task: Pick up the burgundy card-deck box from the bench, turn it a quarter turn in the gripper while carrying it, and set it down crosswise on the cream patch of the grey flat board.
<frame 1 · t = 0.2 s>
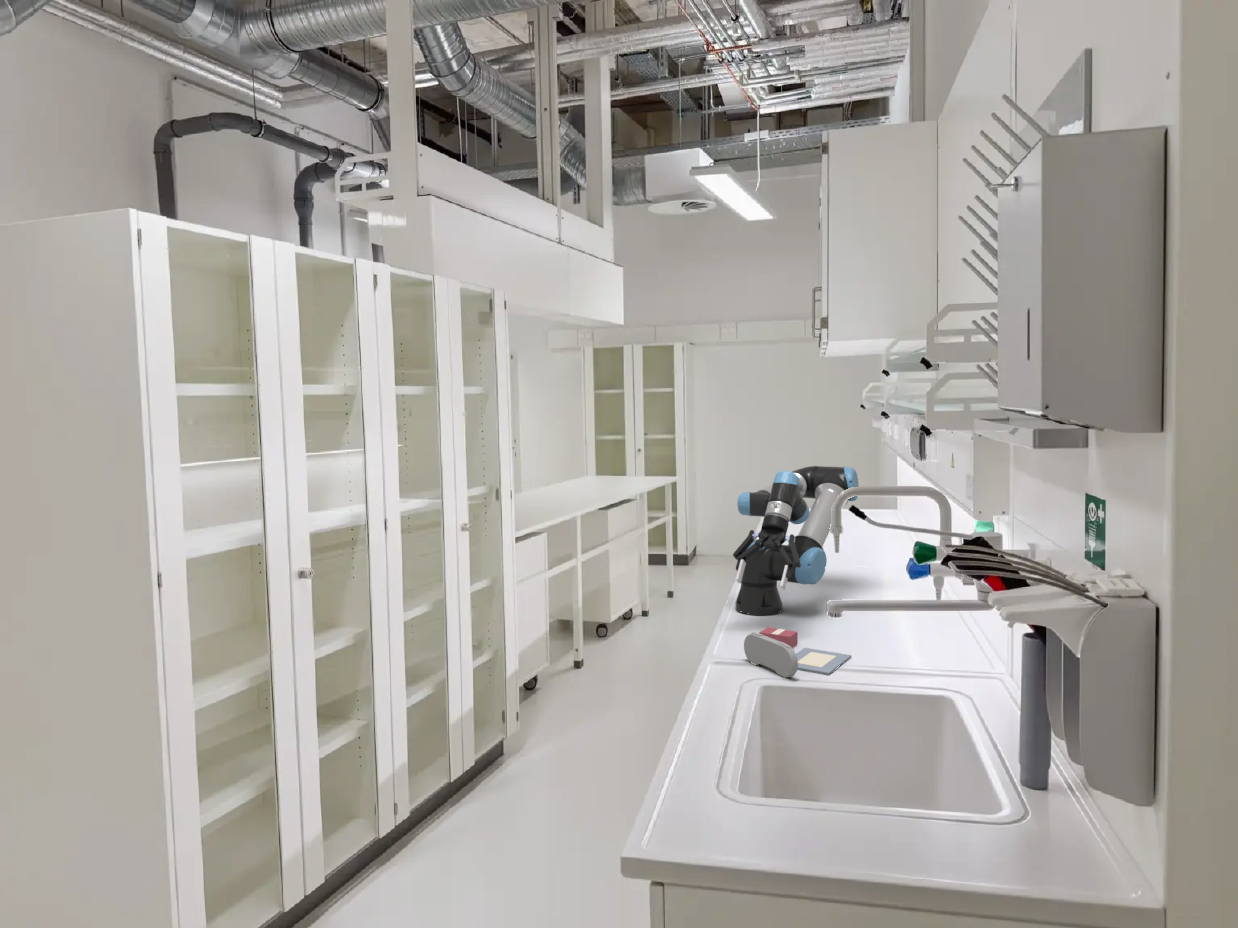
hand: (760, 584, 239), 16 cm above the counter, tool tilted 35°, fingers open, 13 cm apart
card deck box: (778, 646, 233), on the counter
game controller: (769, 670, 212), on the counter
grey flat board: (816, 662, 217), on the counter
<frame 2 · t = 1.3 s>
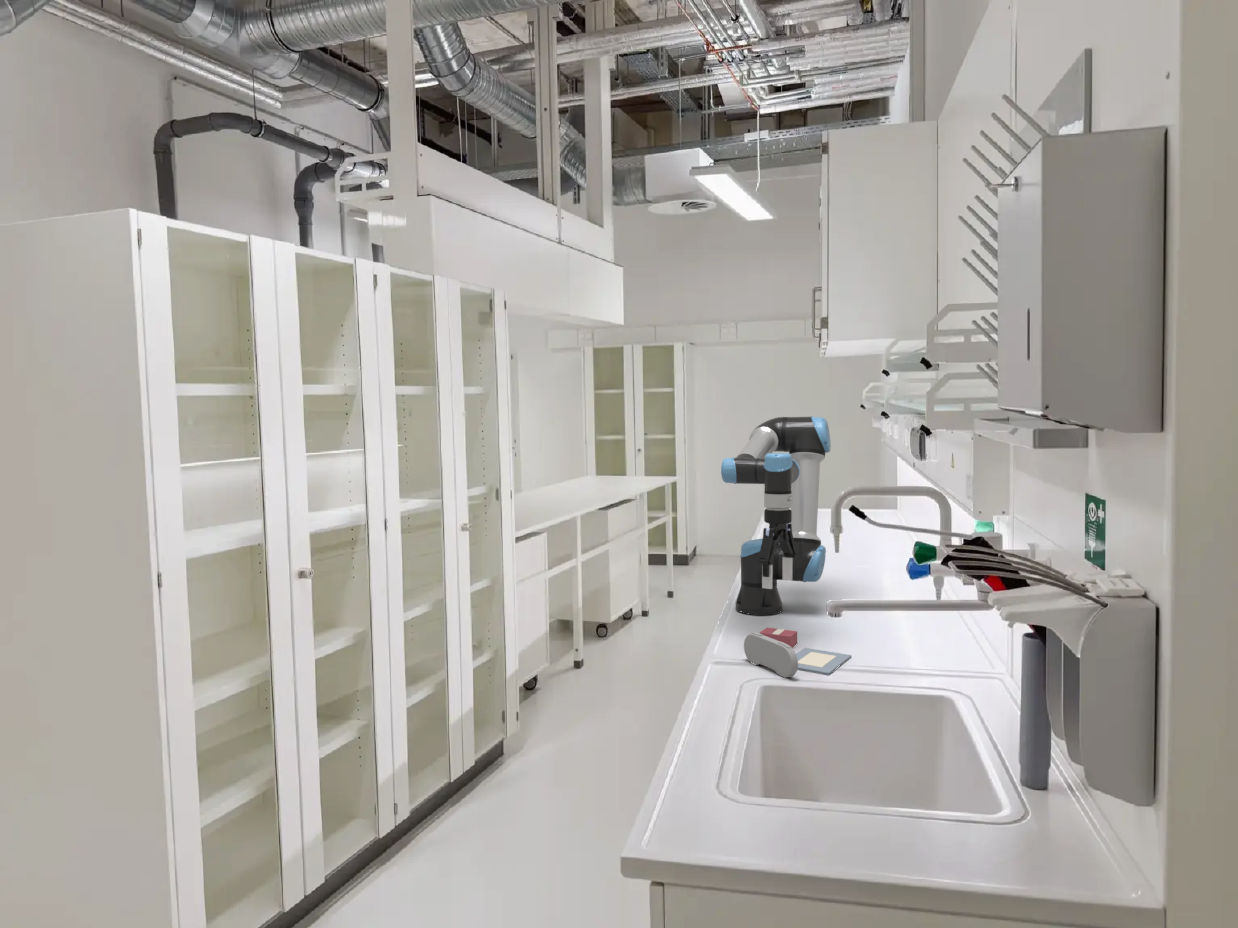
hand: (777, 584, 232), 17 cm above the counter, tool pointing down, fingers open, 13 cm apart
nothing on the counter moved.
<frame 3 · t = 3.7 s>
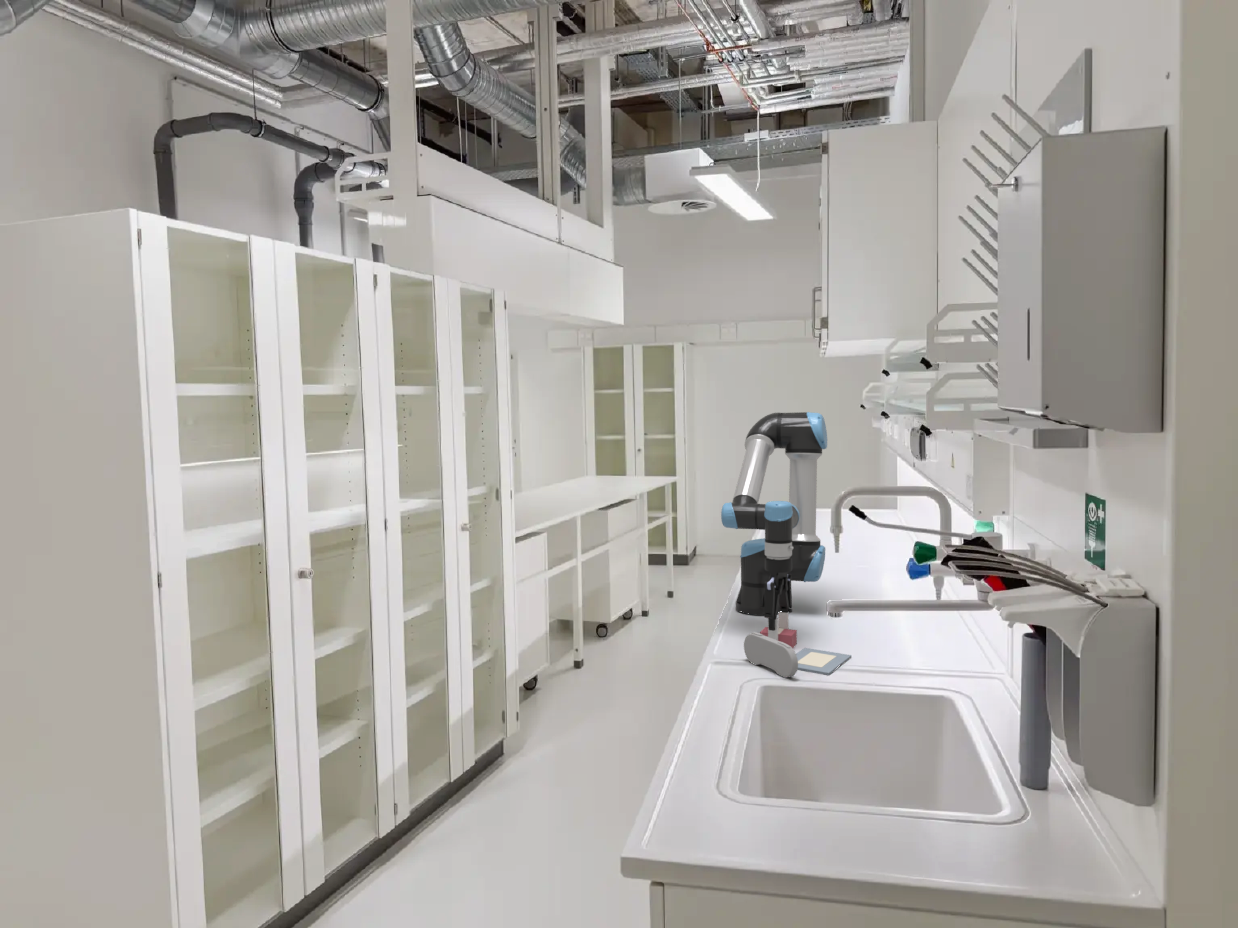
hand: (778, 637, 233), 2 cm above the counter, tool pointing down, fingers closed on card deck box, 7 cm apart
card deck box: (778, 645, 233), on the counter, touching gripper
everything else where it was.
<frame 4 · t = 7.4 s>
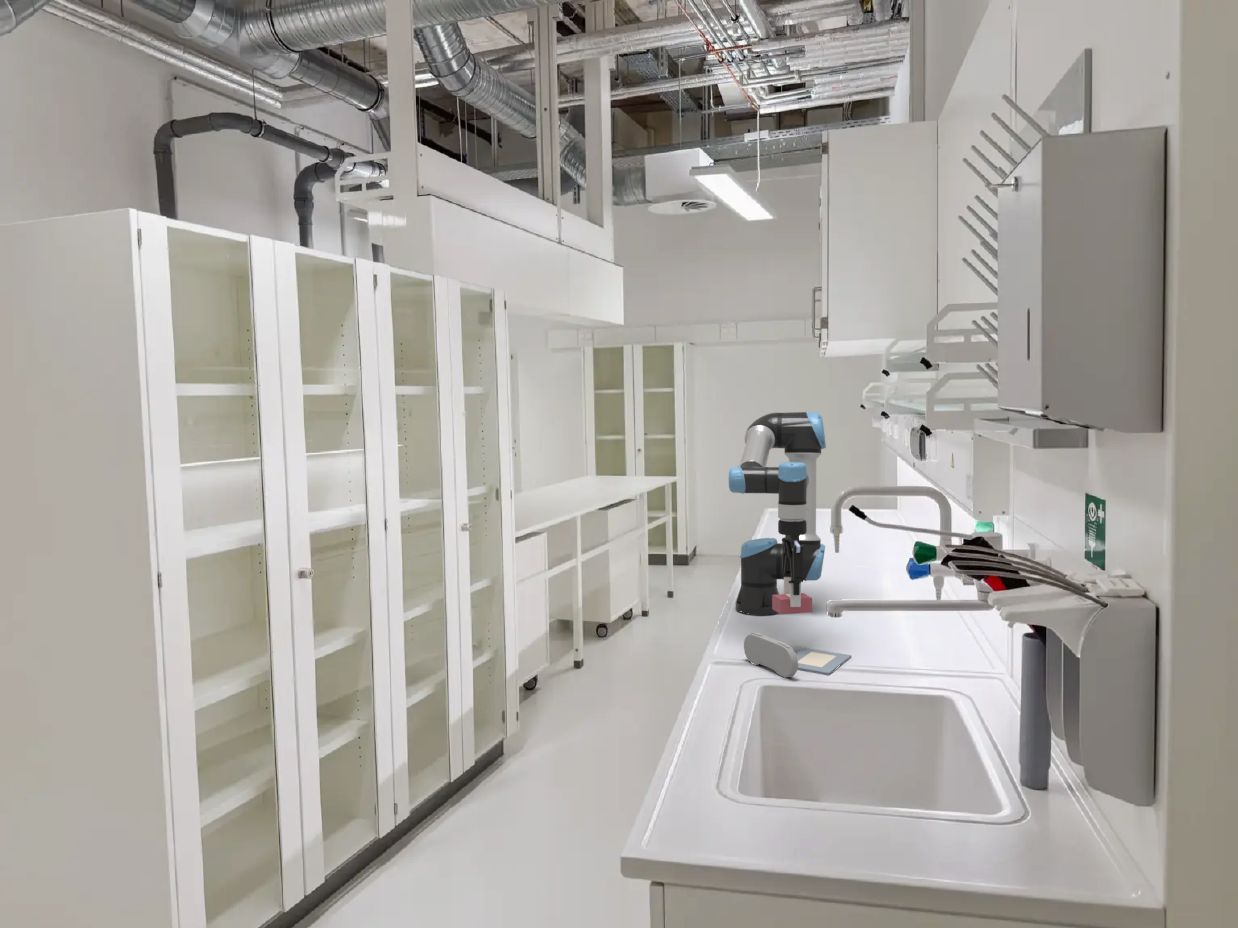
hand: (792, 603, 226), 13 cm above the counter, tool pointing down, fingers closed on card deck box, 6 cm apart
card deck box: (792, 610, 226), point 11 cm above the counter, touching gripper
everything else where it was.
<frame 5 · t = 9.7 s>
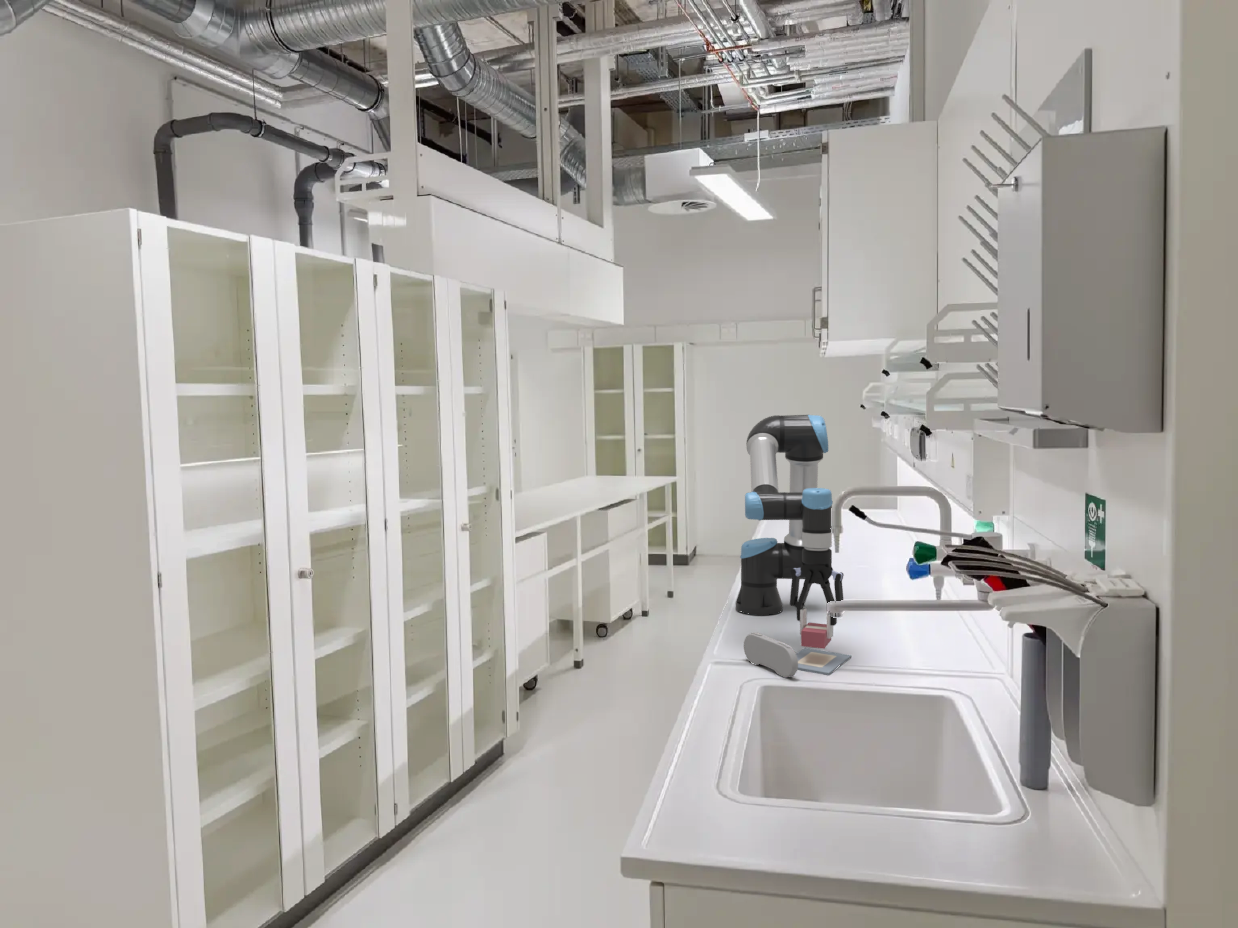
hand: (816, 635, 217), 7 cm above the counter, tool pointing down, fingers closed on card deck box, 6 cm apart
card deck box: (816, 642, 217), point 5 cm above the counter, touching gripper
everything else where it was.
when the fingers open (4 cm above the counter, at t = 11.3 s): card deck box drops 1 cm, resting on grey flat board.
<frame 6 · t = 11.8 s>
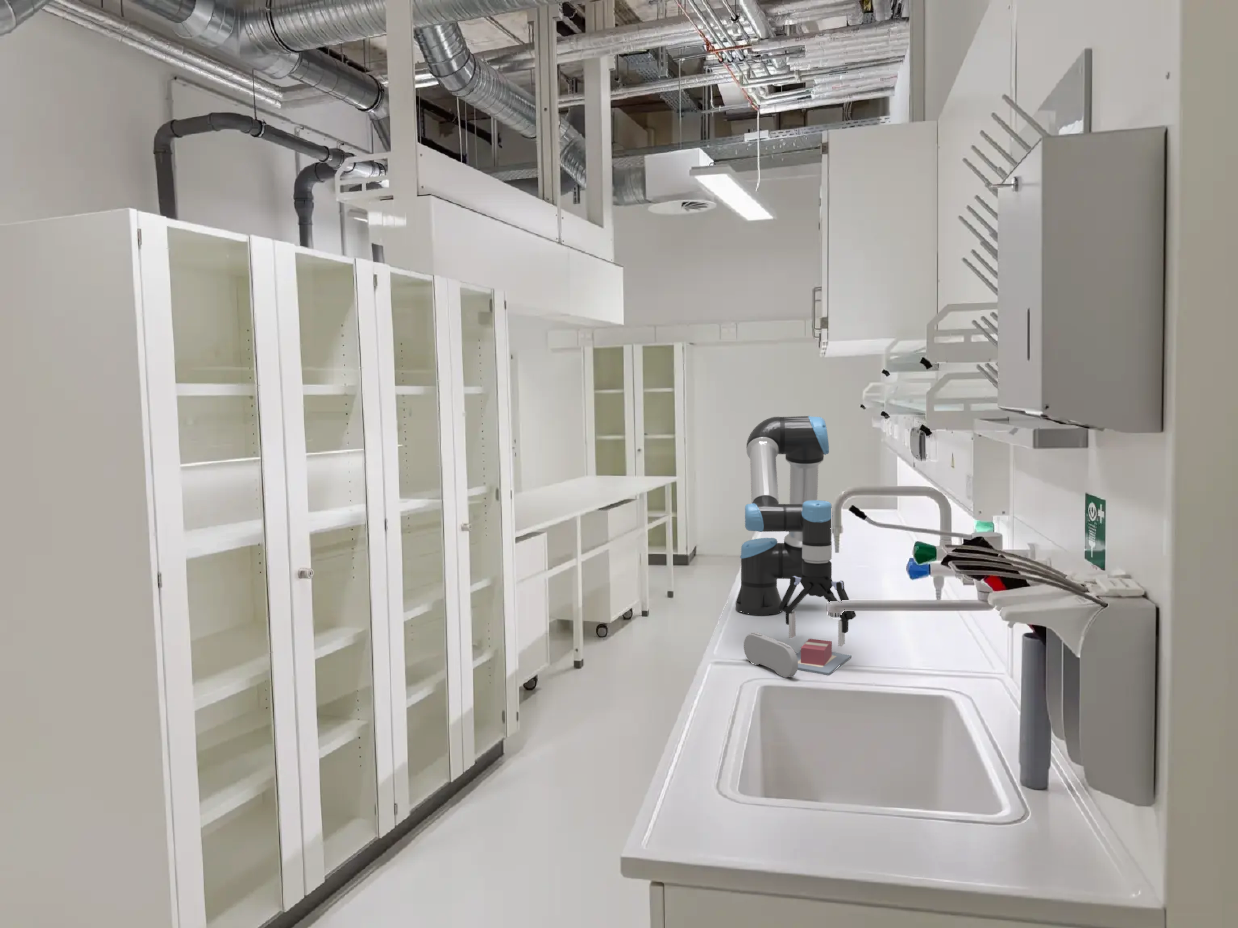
hand: (816, 640, 217), 6 cm above the counter, tool pointing down, fingers open, 13 cm apart
card deck box: (816, 659, 217), point 1 cm above the counter, touching grey flat board
everything else where it was.
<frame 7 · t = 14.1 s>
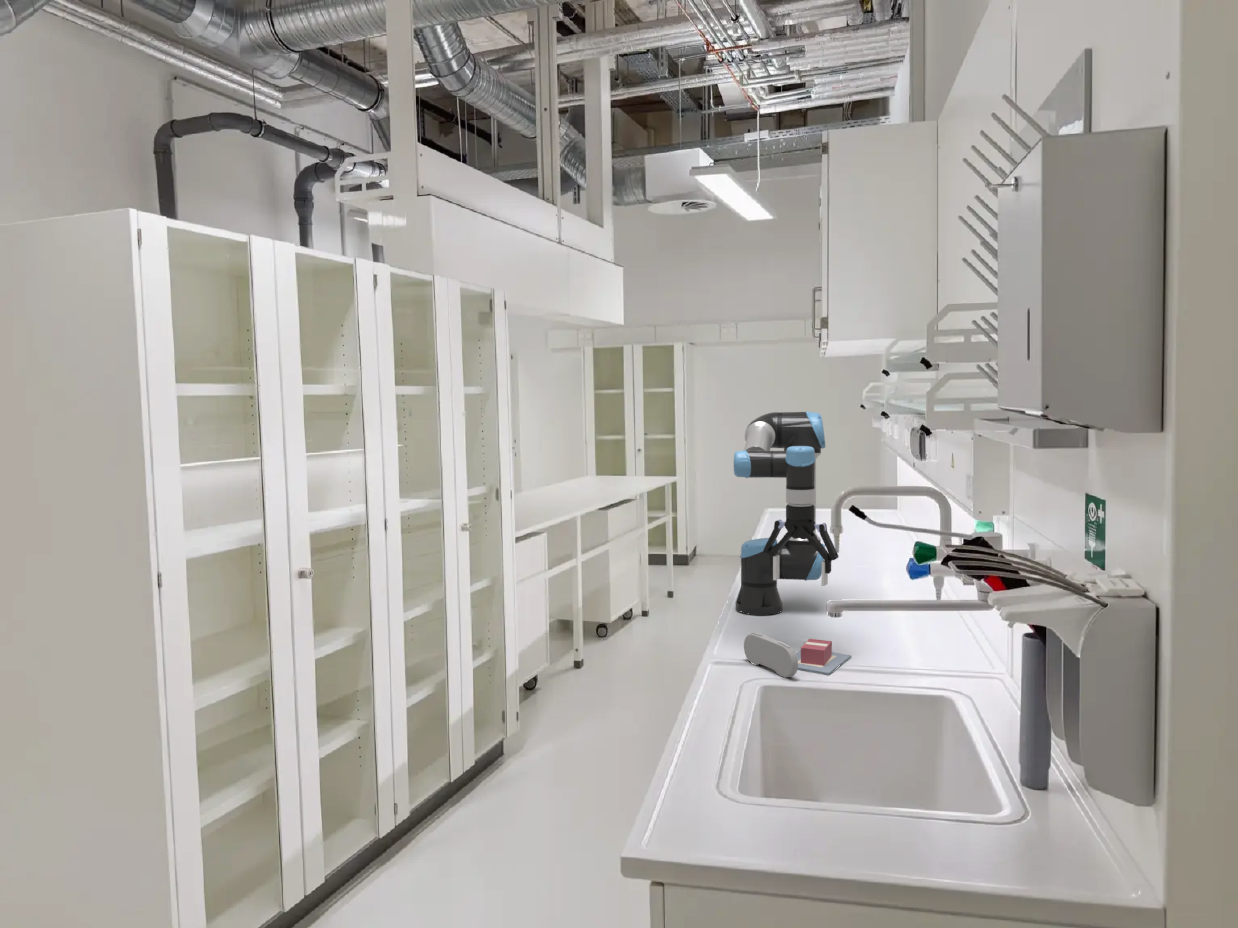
hand: (800, 582, 224), 20 cm above the counter, tool pointing down, fingers open, 13 cm apart
nothing on the counter moved.
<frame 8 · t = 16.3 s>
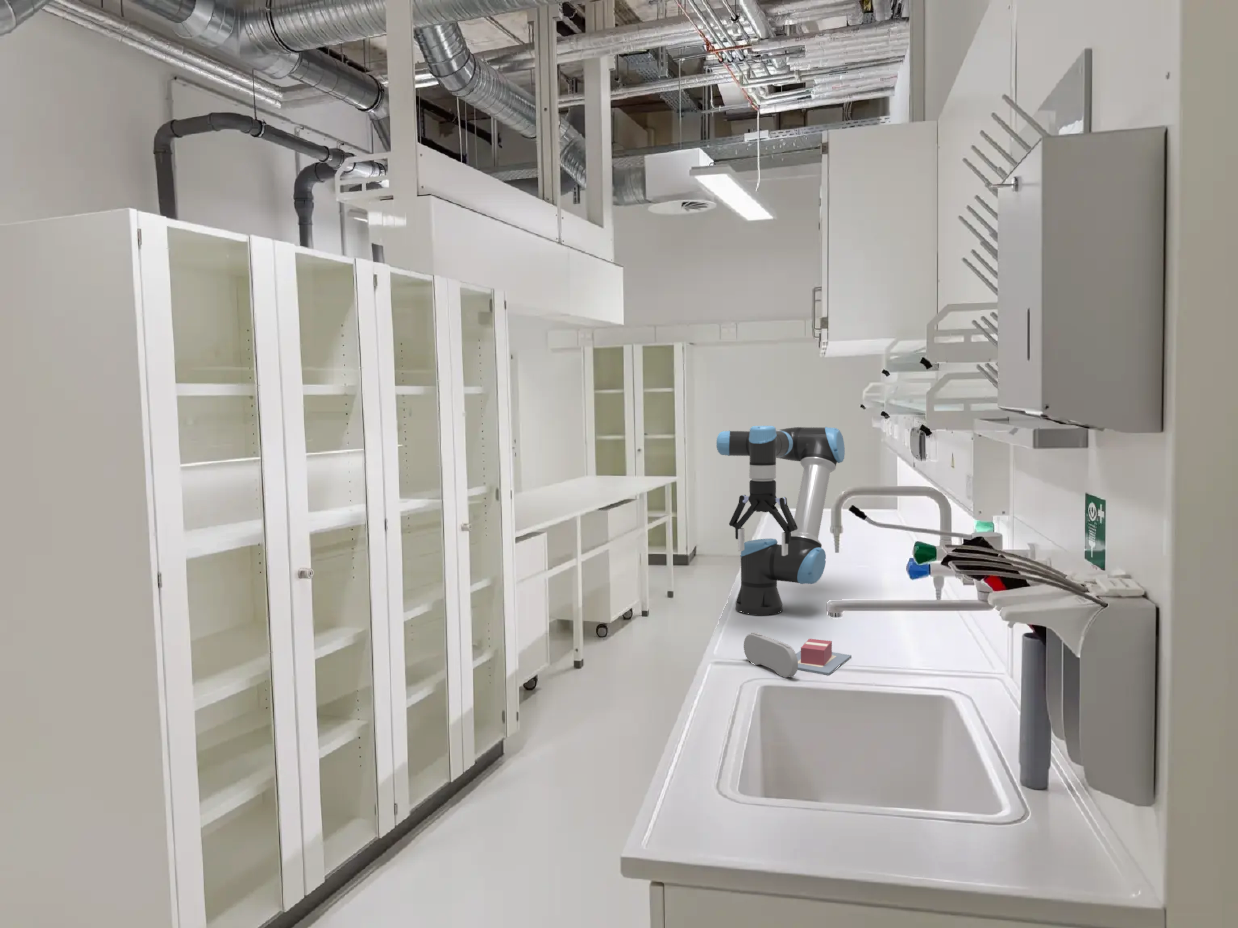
hand: (762, 552, 239), 25 cm above the counter, tool pointing down, fingers open, 13 cm apart
nothing on the counter moved.
at the end: card deck box inside the target area (0.0 cm from its centre), point 0.7 cm above the counter; card deck box touching grey flat board; card deck box tilted 0° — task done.
